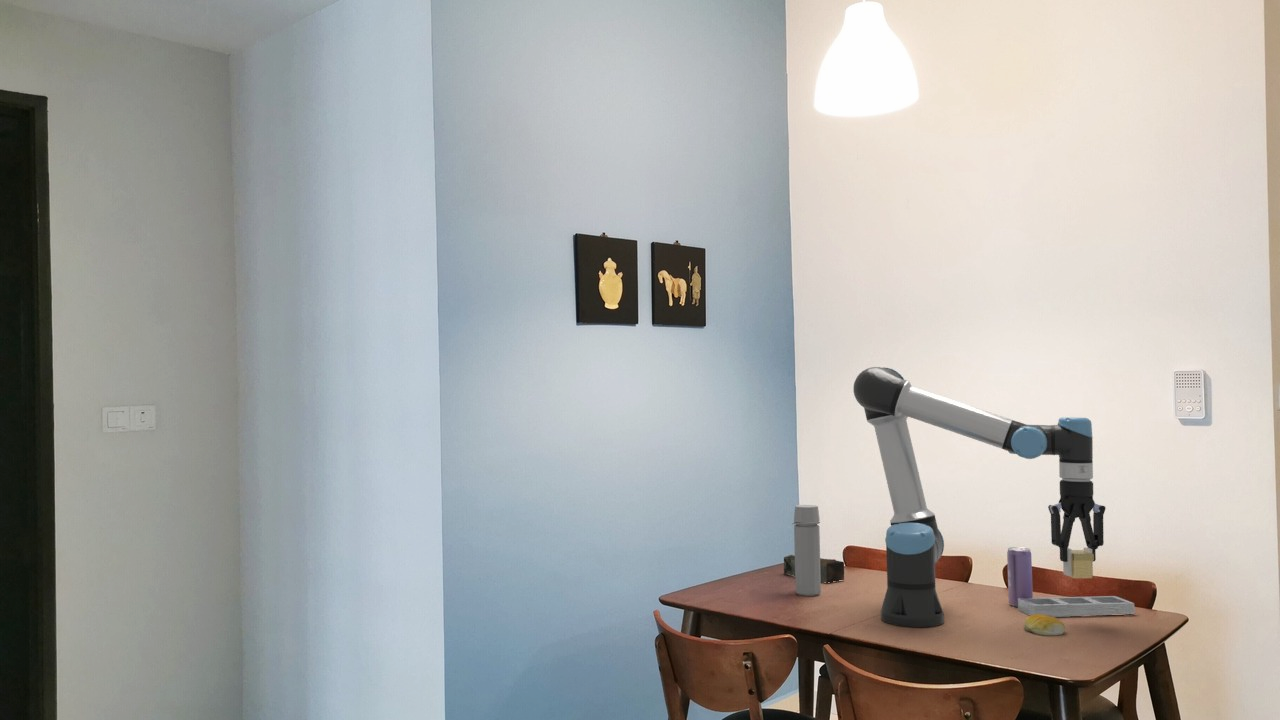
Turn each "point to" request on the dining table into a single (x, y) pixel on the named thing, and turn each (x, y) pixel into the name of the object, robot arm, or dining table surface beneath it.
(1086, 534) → the robot arm
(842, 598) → the dining table surface
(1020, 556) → the beverage can
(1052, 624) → the bread roll
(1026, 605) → the grey compartment tray
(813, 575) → the water bottle
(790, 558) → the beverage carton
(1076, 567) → the pale yellow block
